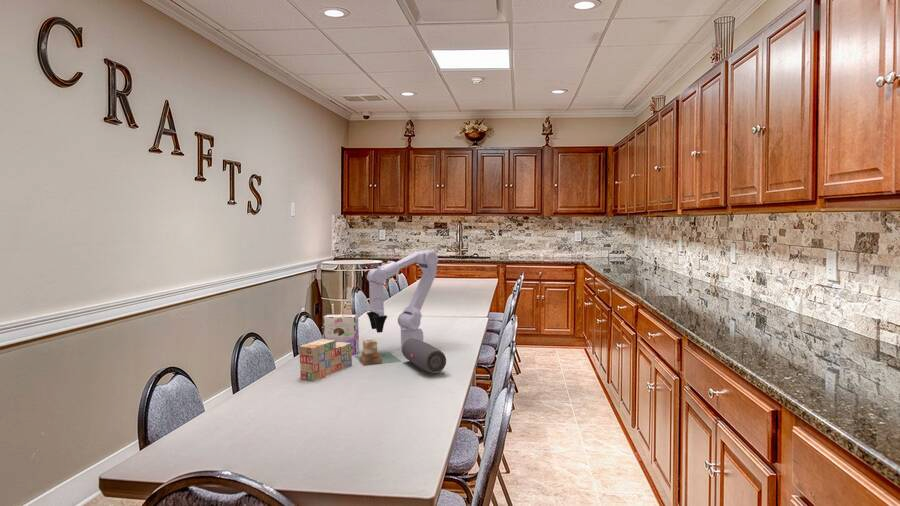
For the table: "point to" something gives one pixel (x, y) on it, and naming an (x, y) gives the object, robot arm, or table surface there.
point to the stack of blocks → (324, 358)
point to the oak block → (369, 346)
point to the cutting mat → (385, 358)
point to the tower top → (370, 355)
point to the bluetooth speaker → (424, 355)
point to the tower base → (370, 361)
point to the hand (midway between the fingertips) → (376, 330)
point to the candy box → (342, 330)
